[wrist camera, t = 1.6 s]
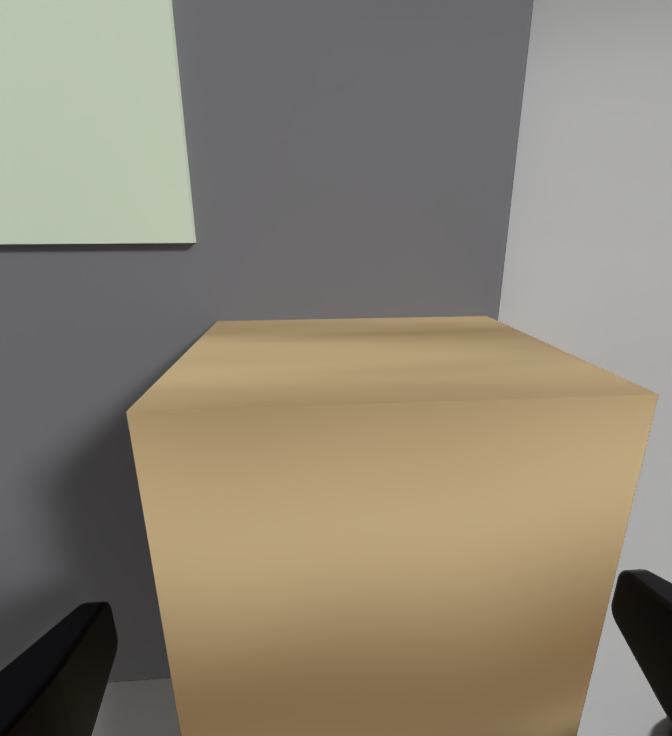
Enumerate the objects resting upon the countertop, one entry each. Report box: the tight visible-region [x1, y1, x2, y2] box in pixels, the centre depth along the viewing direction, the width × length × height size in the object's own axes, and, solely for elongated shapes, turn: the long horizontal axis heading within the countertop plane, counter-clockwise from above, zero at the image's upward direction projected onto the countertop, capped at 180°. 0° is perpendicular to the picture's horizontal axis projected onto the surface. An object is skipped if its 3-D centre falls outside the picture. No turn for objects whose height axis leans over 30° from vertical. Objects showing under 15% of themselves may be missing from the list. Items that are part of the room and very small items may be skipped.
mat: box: [0, 0, 533, 682], centre depth 8 cm, size 20×18×1 cm
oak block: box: [126, 316, 659, 736], centre depth 8 cm, size 9×6×4 cm, turn 1°
